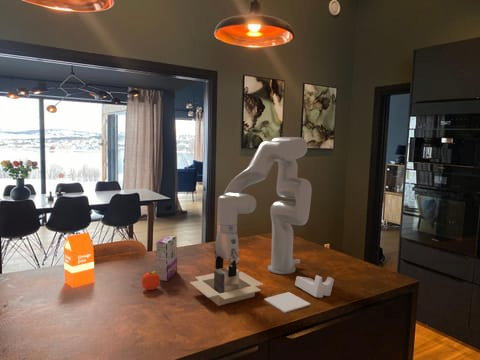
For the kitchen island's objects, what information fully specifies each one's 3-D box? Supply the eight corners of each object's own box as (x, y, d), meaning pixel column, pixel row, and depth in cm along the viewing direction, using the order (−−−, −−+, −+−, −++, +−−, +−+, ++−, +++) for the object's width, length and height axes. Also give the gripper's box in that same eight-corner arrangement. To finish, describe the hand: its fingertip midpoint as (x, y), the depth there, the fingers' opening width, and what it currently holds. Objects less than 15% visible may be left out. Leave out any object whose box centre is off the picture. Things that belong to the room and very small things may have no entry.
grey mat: (288, 293, 144) (288, 291, 144) (310, 305, 134) (310, 303, 134) (263, 299, 138) (263, 298, 138) (284, 312, 128) (284, 311, 127)
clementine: (156, 283, 151) (156, 266, 150) (165, 289, 146) (165, 271, 145) (138, 289, 145) (138, 271, 145) (147, 294, 140) (147, 276, 140)
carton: (236, 277, 159) (236, 268, 159) (269, 298, 139) (269, 287, 139) (185, 288, 146) (185, 278, 146) (213, 312, 127) (214, 301, 126)
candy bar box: (166, 271, 165) (166, 235, 163) (177, 272, 164) (177, 235, 162) (156, 280, 154) (155, 241, 153) (167, 281, 153) (167, 242, 152)
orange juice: (94, 282, 151) (93, 234, 149) (72, 288, 145) (71, 238, 143) (86, 277, 157) (84, 230, 155) (64, 282, 150) (62, 234, 148)
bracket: (329, 298, 143) (334, 279, 143) (315, 297, 139) (320, 277, 139) (307, 286, 154) (312, 268, 154) (294, 284, 151) (299, 266, 151)
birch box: (231, 289, 147) (232, 266, 146) (238, 293, 143) (239, 270, 142) (214, 293, 143) (214, 270, 142) (220, 298, 139) (220, 274, 138)
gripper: (248, 232, 135) (246, 278, 136) (224, 222, 149) (222, 264, 151) (230, 234, 131) (228, 281, 132) (207, 224, 145) (206, 267, 147)
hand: (225, 272), depth 141 cm, fingers open, 9 cm apart
